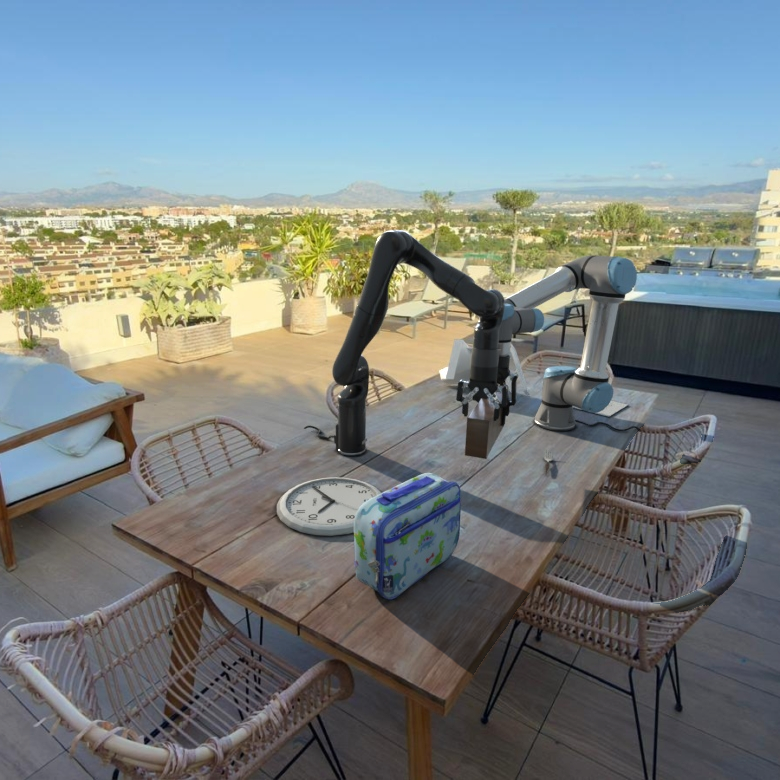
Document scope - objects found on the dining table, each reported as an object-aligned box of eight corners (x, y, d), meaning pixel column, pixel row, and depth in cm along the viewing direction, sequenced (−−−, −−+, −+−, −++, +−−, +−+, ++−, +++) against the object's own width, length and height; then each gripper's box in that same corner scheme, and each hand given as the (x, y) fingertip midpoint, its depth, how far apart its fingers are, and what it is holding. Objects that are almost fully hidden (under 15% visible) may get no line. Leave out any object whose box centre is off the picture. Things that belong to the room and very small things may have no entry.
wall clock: (392, 527, 129) (268, 531, 127) (391, 533, 130) (269, 537, 127) (383, 473, 158) (282, 475, 155) (383, 478, 158) (282, 480, 156)
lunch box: (382, 612, 103) (384, 519, 97) (347, 586, 110) (346, 498, 104) (464, 557, 121) (469, 475, 114) (429, 538, 128) (432, 460, 122)
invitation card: (608, 416, 214) (573, 407, 224) (608, 416, 214) (573, 408, 224) (628, 404, 229) (594, 396, 238) (628, 405, 229) (594, 397, 238)
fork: (541, 474, 162) (542, 468, 162) (545, 454, 177) (545, 449, 176) (550, 476, 162) (550, 470, 161) (553, 456, 176) (553, 450, 175)
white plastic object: (461, 429, 252) (437, 405, 227) (444, 352, 274) (420, 323, 250) (535, 404, 240) (518, 377, 215) (510, 326, 262) (492, 293, 237)
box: (484, 423, 175) (487, 390, 172) (503, 426, 173) (506, 393, 169) (464, 455, 151) (467, 417, 147) (486, 459, 148) (489, 420, 145)
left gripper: (455, 363, 144) (452, 418, 149) (507, 368, 139) (503, 425, 144) (462, 357, 151) (459, 410, 155) (512, 362, 146) (507, 417, 150)
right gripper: (464, 353, 163) (460, 422, 170) (527, 359, 156) (520, 431, 163) (470, 348, 170) (466, 415, 177) (530, 354, 163) (524, 423, 170)
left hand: (480, 417), depth 150 cm, fingers open, 8 cm apart
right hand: (492, 422), depth 170 cm, fingers closed on box, 6 cm apart
